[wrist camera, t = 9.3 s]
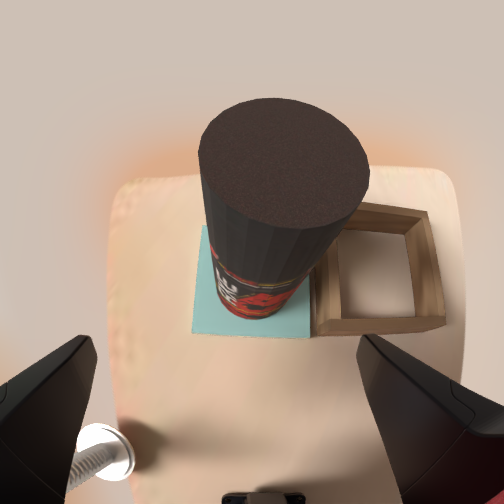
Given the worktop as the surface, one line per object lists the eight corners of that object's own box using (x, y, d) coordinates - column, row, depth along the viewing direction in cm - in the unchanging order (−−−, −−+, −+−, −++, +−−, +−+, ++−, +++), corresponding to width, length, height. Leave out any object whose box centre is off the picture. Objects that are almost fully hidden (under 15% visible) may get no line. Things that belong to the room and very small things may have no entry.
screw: (92, 468, 16) (85, 417, 18) (146, 476, 17) (138, 423, 19) (-1, 518, 4) (-24, 435, 6) (75, 552, 5) (48, 464, 7)
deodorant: (202, 298, 22) (162, 180, 9) (236, 236, 25) (247, 82, 11) (272, 332, 22) (344, 263, 8) (301, 267, 24) (381, 136, 10)
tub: (423, 331, 23) (446, 324, 20) (316, 336, 22) (330, 330, 19) (409, 228, 27) (426, 211, 24) (312, 218, 27) (322, 197, 23)
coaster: (308, 338, 22) (310, 337, 22) (192, 333, 22) (191, 332, 21) (306, 235, 26) (307, 232, 25) (203, 228, 25) (202, 225, 25)
